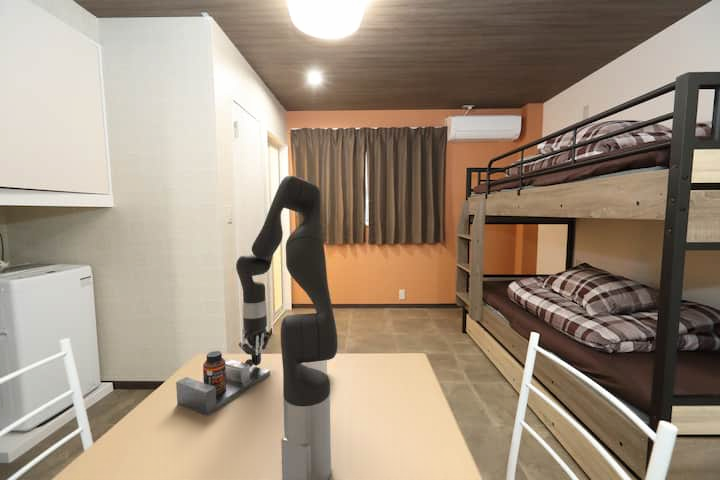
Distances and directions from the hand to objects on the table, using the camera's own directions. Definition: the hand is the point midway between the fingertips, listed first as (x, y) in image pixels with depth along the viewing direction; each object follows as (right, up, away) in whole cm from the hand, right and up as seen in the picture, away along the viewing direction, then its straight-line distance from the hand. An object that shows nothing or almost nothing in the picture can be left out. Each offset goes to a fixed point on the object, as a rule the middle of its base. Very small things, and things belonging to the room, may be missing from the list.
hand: (256, 364), depth 109 cm
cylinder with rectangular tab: (+19, -3, -3) cm, 20 cm away
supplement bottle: (-7, -2, -15) cm, 17 cm away
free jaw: (-3, -1, -5) cm, 6 cm away
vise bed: (-6, -3, -11) cm, 12 cm away
